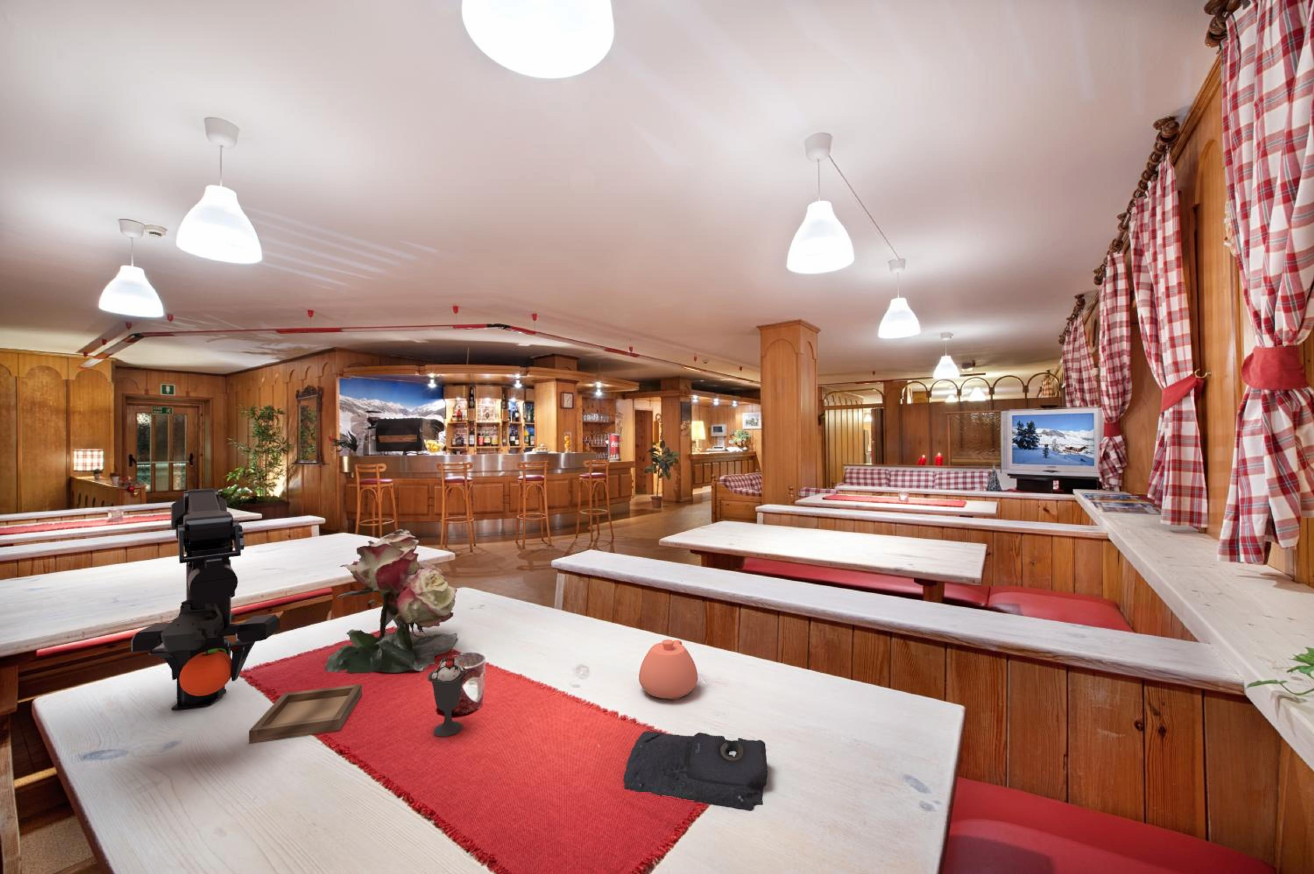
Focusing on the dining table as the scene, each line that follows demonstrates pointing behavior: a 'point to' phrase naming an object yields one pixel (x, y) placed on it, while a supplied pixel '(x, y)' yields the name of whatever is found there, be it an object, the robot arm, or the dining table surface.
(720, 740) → the black grommet pouch
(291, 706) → the walnut dish
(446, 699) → the sundae
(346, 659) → the rose bouquet
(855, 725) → the dining table surface
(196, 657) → the clementine
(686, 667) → the sugar bowl
